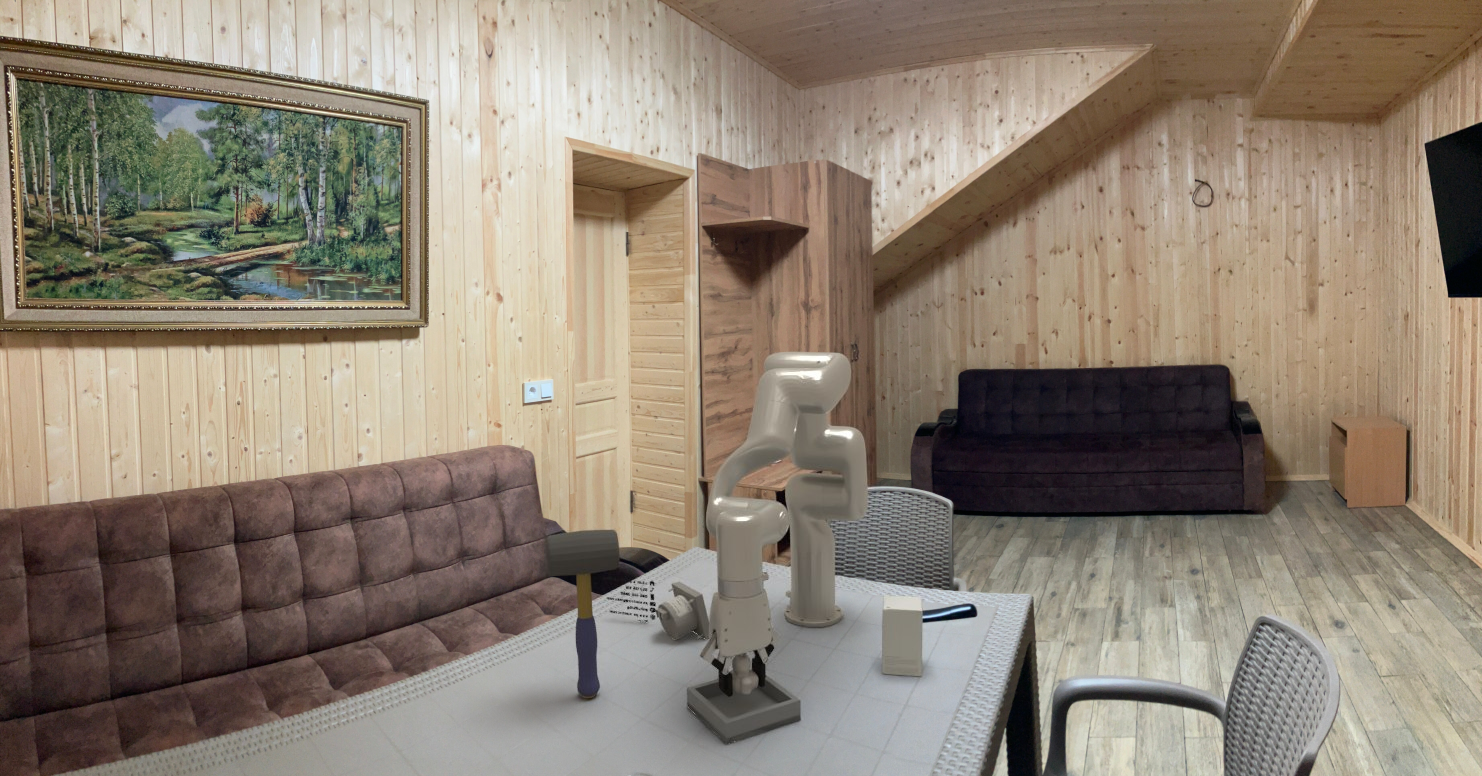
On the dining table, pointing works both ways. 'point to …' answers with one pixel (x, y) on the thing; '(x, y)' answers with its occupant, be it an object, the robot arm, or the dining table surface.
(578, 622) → the rubber mallet
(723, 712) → the tray
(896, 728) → the dining table surface
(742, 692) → the beige rounded piece
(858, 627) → the dining table surface
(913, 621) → the supplement box
